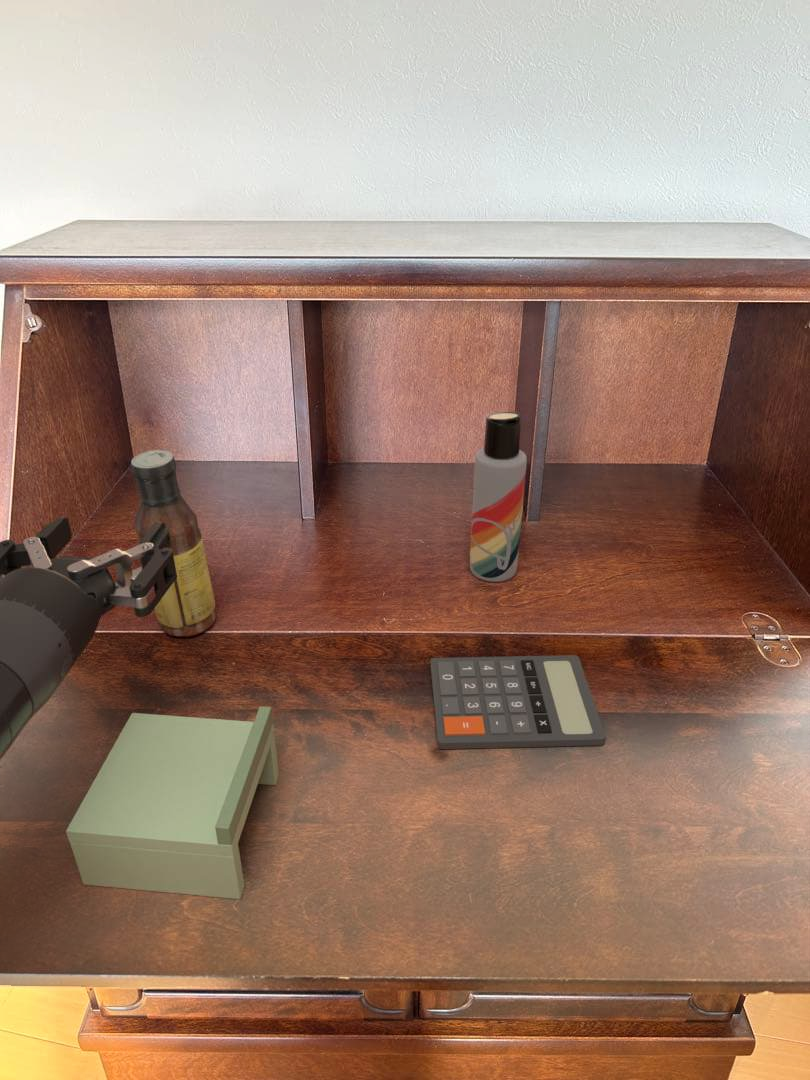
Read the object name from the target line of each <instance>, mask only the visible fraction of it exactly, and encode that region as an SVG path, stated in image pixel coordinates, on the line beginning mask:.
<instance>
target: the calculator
mask: <svg viewBox="0 0 810 1080" xmlns="http://www.w3.org/2000/svg"><path fill="white" fill-rule="evenodd" d="M429 660H430V661H429V668H430V679H431V688H432V689H431V690H432V700H433V701H432V702H433V713H434V721H435V722H434V724H435V731H436V732H435V734H436V744H437V748H438V749H440V750H458V749H459V750H462V749H500V748H501V749H502V748H503V749H504V748H507V749H508V748H542V747H544V748H545V747H547V748H548V747H580V746H581V747H586V746H588V747H589V746H604V745H605V743H606V739H607V738H606V733H605V729H604V727H603V724H602V721H601V718H600V716H599V713H598V709H597V707H596V704H595V700H594V698H593V695H592V691H591V689H590V685H589V683H588V680H587V677H586V675H585V671H584V667H583V666H582V662H581V660H580V657H579V656H578V655H576V654H566V655H562V654H561V655H517V656H515V655H513V656H469V657H468V656H467V657H466V656H465V657H463V656H462V657H460V656H459V657H433V658H431V659H429Z"/></svg>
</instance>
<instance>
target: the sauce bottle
mask: <svg viewBox="0 0 810 1080" xmlns="http://www.w3.org/2000/svg"><path fill="white" fill-rule="evenodd" d="M130 465H131V470H132V474H133V476H134V477H135V479H136V483H137V488H138V491H139V500H140V505H139V507H138V509H137V512H136V514H135V516H134V527H135V531H136V535H137V538H138V539H137V540H138V544H140V541H141V540H142V539H143V537H144V536H145V535H146V533H147V532H148V531H149V529H150V528H151V527H152V525H153V524H154V523H155V522H164V523H165V526H166V528H169V534H170V539H171V547H170V548H171V549H172V550H173V556H174V561H175V567H176V573H177V578H176V580H175V581H174V582H173V584H172V585H171V586H170V588H169V589H168V590H167V592H166V593H165V595H164V596H163V597H162V599H161V600H160V601H159V603H158V604H157V605H156V607H155V608H154V609H153V610H154V613H155V617H156V620H157V622H158V623H159V626H160V627H161V629H162V631H164V633H166V634H167V636H170V637H179V638H191V637H194V636H198V635H200V634H202V633H205V632H206V631H208V630H209V629H210V628H211V627H212V626H213V625H214V623H215V621H216V617H217V609H216V600H215V595H214V591H213V585H212V581H211V575H210V571H209V566H208V561H207V556H206V550H205V546H204V542H203V536H202V532H201V529H200V527H199V523H198V517H197V514H196V513H195V512H194V510H192V508H191V507H190V506H189V503H187V501H186V500H185V499H184V497H183V496H182V495H181V489H180V487H179V483H178V479H177V473H176V470H177V463H176V459H175V456H174V454H173V453H172V452H170V451H168V450H161V449H153V450H147V451H144V452H141V453H138V454H137V455H135V456H134V457H132V459H131V460H130Z"/></svg>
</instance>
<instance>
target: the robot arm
mask: <svg viewBox="0 0 810 1080" xmlns="http://www.w3.org/2000/svg"><path fill="white" fill-rule="evenodd" d="M72 537H73V534H72V529H71V526H70V521H69V519H68V517H66V516H65V517H64V516H58V517H56V518H55V519H54V520H53V521H51V522H49V523H47V524H46V525H45V526H44V527H43V528H42V529H41V530H40V531H39V532H38V533H37V534H36V535H35V536H29V537H27V538H25V539H24V540H23V542H22V543H15V541H14V540H13V539H5V540H4V539H3V540H1V541H0V761H1V760H2V759H3V758H4V757H5V755H6V754H7V752H8V751H9V750H10V748H11V747H12V746H13V744H14V743H15V741H16V740H17V739H18V737H19V736H20V734H21V733H22V732H23V730H24V729H25V727H26V726H27V724H29V722H30V721H31V719H32V718H33V717H34V716H35V715H36V714H37V713H38V712H39V711H40V710H41V709H42V708H43V707H44V706H45V705H46V704H47V702H48V701H49V700H50V698H51V697H52V696H53V695H54V694H55V692H56V691H57V689H58V688H59V687H60V685H61V683H62V682H63V680H64V679H65V678H66V676H67V675H68V673H69V672H70V671H71V670H72V668H73V667H74V665H75V663H76V662H77V660H78V659H79V658H80V656H81V655H82V654H83V652H84V651H85V650H86V648H87V647H88V645H89V644H90V643H91V641H92V639H93V638H94V636H95V634H96V631H97V629H98V626H99V623H100V620H101V618H102V617H103V616H104V615H105V614H107V613H108V612H110V611H112V610H113V609H114V608H116V606H118V607H119V606H120V607H130V608H133V611H134V615H135V617H138V618H144V617H145V618H146V617H148V616H149V615H150V614H152V612H153V610H155V609H154V608H155V607H156V605H157V604H158V603H159V601H160V600H161V599H162V597H163V596H164V595H165V593H166V592H167V590H168V589H169V588H170V586H171V585H172V584H173V582H174V581H175V580H176V578H177V573H176V567H175V561H174V556H173V550H172V549H171V548H170V547H171V539H170V534H169V528H166V526H165V523H164V522H155V523H154V524H153V525H152V527H151V528H150V529H149V531H148V532H147V533H146V535H145V536H144V537H143V539H142V540H141V541H140V543H139V544H137V545H136V546H133V547H130V548H129V549H126V550H122V549H121V548H114V549H111V550H110V551H107V552H104V553H102V554H100V555H97V556H94V557H90V556H89V557H74V556H70V555H60V553H61V552H62V550H63V549H64V548H65V547H67V545H68V544H69V543H70V541H71V540H72ZM58 555H59V556H58ZM57 556H58V557H57ZM138 560H139V561H140V566H139V567H137V568H135V569H132V564H133V563H134V562H136V561H138ZM27 566H28V567H27ZM112 566H114V568H115V572H116V576H117V577H116V581H114V578H113V577H112V574H111V572H110V571H109V569H108V568H110V567H112Z"/></svg>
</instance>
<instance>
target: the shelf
mask: <svg viewBox="0 0 810 1080" xmlns="http://www.w3.org/2000/svg"><path fill="white" fill-rule="evenodd" d="M276 745H277V744H276V735H275V727H274V719H273V710H272V707H271V706H259V707H258V709H257V712H256V715H255V718H254V721H245V720H234V719H221V718H208V717H192V716H181V715H179V716H178V715H168V714H167V715H166V714H151V713H141V712H140V713H139V712H132V713H131V714H130V716H129V718H128V719H127V720H126V723H125V725H124V726H123V728H122V730H121V732H120V734H119V735H118V737H117V739H116V740H115V742H114V744H113V746H112V748H111V750H110V751H109V753H108V755H107V756H106V759H105V761H104V762H103V763H102V766H101V767H100V769H99V771H98V773H97V775H96V777H95V778H94V779H93V782H92V783H91V785H90V787H89V789H88V791H87V792H86V794H85V796H84V798H83V799H82V801H81V803H80V804H79V807H78V809H77V810H76V812H75V814H74V816H73V817H72V819H71V821H70V823H69V825H68V826H67V829H66V830H65V833H66V836H67V839H68V842H69V844H70V848H71V851H72V854H73V856H74V857H73V858H74V860H75V863H76V866H77V869H78V873H79V875H80V879H81V881H82V885H85V886H92V887H93V886H94V887H105V888H114V889H115V888H116V889H126V890H137V891H145V892H146V891H147V892H148V891H149V892H158V893H169V894H179V895H190V896H199V897H211V898H221V899H222V898H223V899H230V900H231V899H233V900H241V899H242V896H243V893H244V890H245V887H246V886H245V885H246V884H245V880H244V879H245V878H244V873H243V872H244V871H243V866H242V861H241V853H240V847H239V841H240V838H241V835H242V832H243V830H244V826H245V824H246V821H247V818H248V814H249V811H250V808H251V806H252V802H253V800H254V796H255V793H256V790H257V788H258V785H267V786H276V785H277V783H278V779H279V776H280V772H279V763H278V753H277V746H276Z"/></svg>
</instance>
